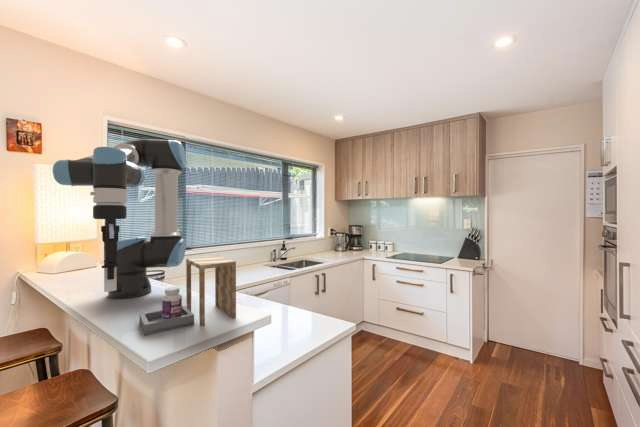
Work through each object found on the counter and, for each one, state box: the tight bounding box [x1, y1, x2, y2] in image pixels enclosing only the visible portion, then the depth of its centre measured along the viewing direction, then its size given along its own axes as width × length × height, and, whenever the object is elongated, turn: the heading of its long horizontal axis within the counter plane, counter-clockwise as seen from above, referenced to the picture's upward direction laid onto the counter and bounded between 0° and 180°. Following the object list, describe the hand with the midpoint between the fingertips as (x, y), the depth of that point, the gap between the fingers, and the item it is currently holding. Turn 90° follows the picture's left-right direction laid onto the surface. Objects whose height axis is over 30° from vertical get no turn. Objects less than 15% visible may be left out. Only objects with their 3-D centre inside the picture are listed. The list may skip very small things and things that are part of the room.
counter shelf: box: [185, 255, 237, 327], centre depth 98 cm, size 16×11×18 cm
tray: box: [138, 305, 195, 336], centre depth 90 cm, size 11×13×3 cm
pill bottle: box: [161, 286, 183, 320], centre depth 91 cm, size 5×5×10 cm
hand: (110, 290), depth 81 cm, fingers closed
